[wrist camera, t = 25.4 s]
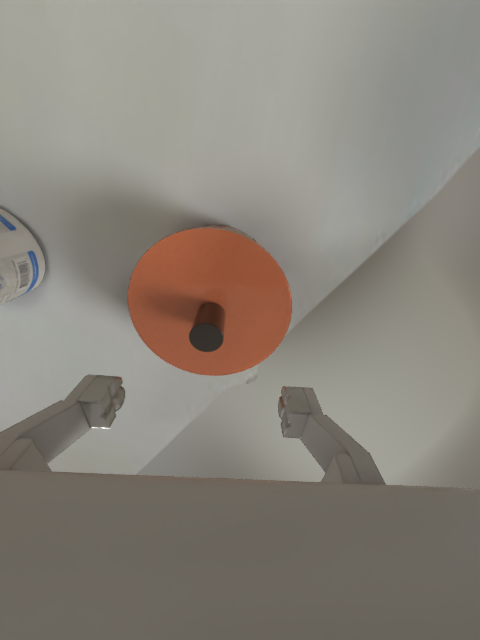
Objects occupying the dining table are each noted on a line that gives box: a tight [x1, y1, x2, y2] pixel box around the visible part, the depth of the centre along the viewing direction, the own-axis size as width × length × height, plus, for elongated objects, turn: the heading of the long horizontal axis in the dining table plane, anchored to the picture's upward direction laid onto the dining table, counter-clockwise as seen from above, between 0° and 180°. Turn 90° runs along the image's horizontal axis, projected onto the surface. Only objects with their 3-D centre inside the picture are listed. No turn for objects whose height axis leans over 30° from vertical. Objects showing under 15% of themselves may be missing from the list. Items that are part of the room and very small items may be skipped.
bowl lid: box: [128, 227, 292, 375], centre depth 17 cm, size 13×13×5 cm
